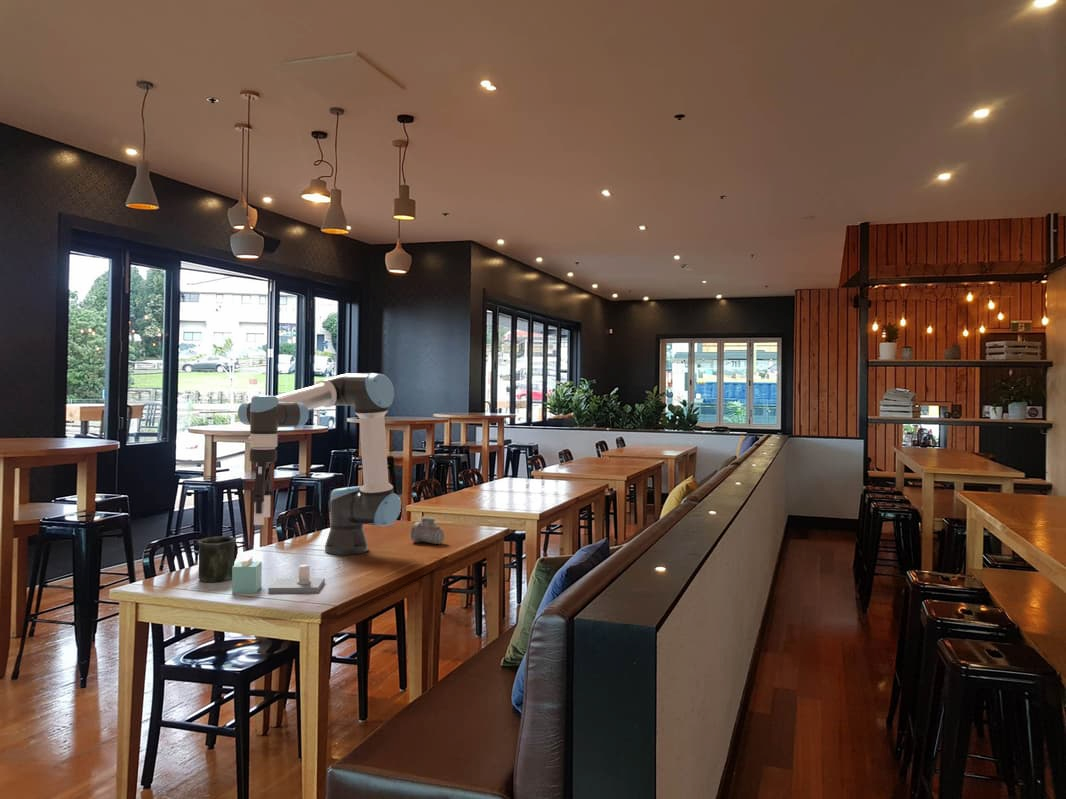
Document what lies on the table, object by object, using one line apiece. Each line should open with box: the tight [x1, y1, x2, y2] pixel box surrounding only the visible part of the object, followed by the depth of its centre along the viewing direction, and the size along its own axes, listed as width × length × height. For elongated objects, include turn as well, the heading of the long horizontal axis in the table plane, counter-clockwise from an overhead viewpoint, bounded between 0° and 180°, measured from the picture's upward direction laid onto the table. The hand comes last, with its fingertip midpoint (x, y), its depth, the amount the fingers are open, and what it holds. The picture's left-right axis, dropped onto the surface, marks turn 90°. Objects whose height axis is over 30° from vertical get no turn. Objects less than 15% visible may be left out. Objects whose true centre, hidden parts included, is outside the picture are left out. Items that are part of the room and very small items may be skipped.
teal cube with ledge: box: [231, 556, 263, 594], centre depth 225 cm, size 7×7×9 cm
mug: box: [197, 536, 239, 583], centre depth 238 cm, size 11×15×12 cm
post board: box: [267, 564, 326, 594], centre depth 228 cm, size 11×14×6 cm
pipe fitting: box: [410, 516, 445, 545], centre depth 295 cm, size 12×8×10 cm, turn 62°
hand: (262, 521), depth 225 cm, fingers open, 13 cm apart
